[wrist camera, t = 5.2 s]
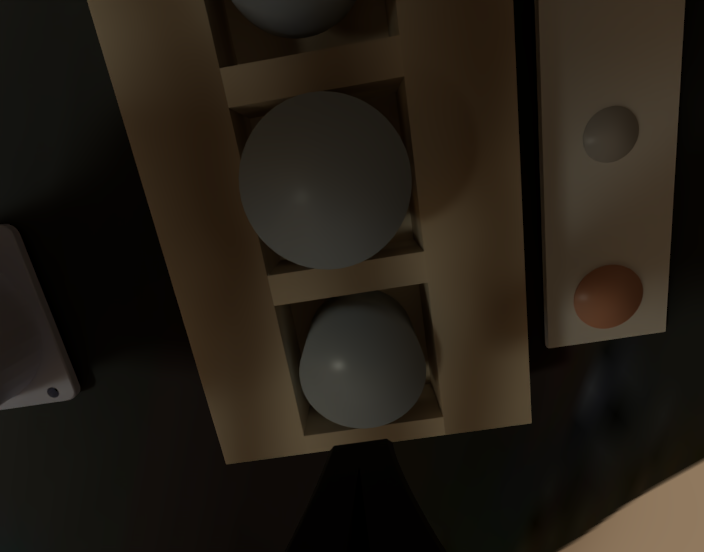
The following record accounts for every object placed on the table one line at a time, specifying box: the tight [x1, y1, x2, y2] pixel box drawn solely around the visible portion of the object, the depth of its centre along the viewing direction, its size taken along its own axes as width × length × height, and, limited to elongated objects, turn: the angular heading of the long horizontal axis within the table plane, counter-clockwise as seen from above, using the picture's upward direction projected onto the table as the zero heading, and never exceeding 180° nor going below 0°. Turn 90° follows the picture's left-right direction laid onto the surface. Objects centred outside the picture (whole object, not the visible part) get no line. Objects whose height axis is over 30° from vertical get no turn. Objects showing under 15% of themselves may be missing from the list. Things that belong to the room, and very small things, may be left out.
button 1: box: [299, 290, 426, 429], centre depth 15 cm, size 4×4×3 cm
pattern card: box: [534, 0, 685, 348], centre depth 14 cm, size 5×17×1 cm, turn 9°
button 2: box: [239, 91, 412, 270], centre depth 11 cm, size 4×4×3 cm
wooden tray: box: [87, 0, 532, 464], centre depth 14 cm, size 12×20×3 cm, turn 9°
